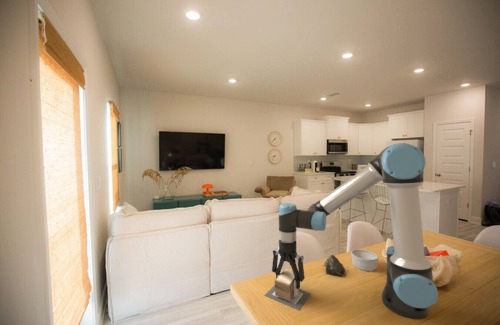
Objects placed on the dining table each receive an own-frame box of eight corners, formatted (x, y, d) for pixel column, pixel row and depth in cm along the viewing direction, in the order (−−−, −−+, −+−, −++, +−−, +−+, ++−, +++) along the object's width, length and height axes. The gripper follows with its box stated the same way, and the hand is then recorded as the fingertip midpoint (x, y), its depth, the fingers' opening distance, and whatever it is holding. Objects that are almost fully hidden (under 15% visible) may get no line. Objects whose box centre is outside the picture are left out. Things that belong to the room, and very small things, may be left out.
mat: (311, 294, 96) (311, 292, 96) (299, 311, 86) (299, 309, 86) (278, 282, 106) (278, 281, 106) (264, 296, 95) (264, 295, 95)
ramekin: (380, 265, 121) (380, 253, 121) (375, 275, 111) (375, 262, 111) (355, 258, 130) (355, 247, 129) (347, 267, 120) (347, 254, 120)
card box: (290, 301, 90) (290, 285, 89) (275, 295, 94) (274, 279, 93) (299, 287, 98) (299, 272, 97) (285, 282, 102) (284, 268, 101)
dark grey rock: (348, 278, 108) (337, 259, 108) (330, 284, 110) (320, 266, 111) (344, 266, 118) (334, 250, 119) (328, 272, 120) (319, 256, 121)
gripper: (313, 242, 92) (313, 295, 93) (271, 232, 104) (272, 280, 105) (306, 248, 86) (306, 305, 87) (263, 237, 98) (263, 288, 98)
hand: (287, 291), depth 96 cm, fingers closed on card box, 7 cm apart
